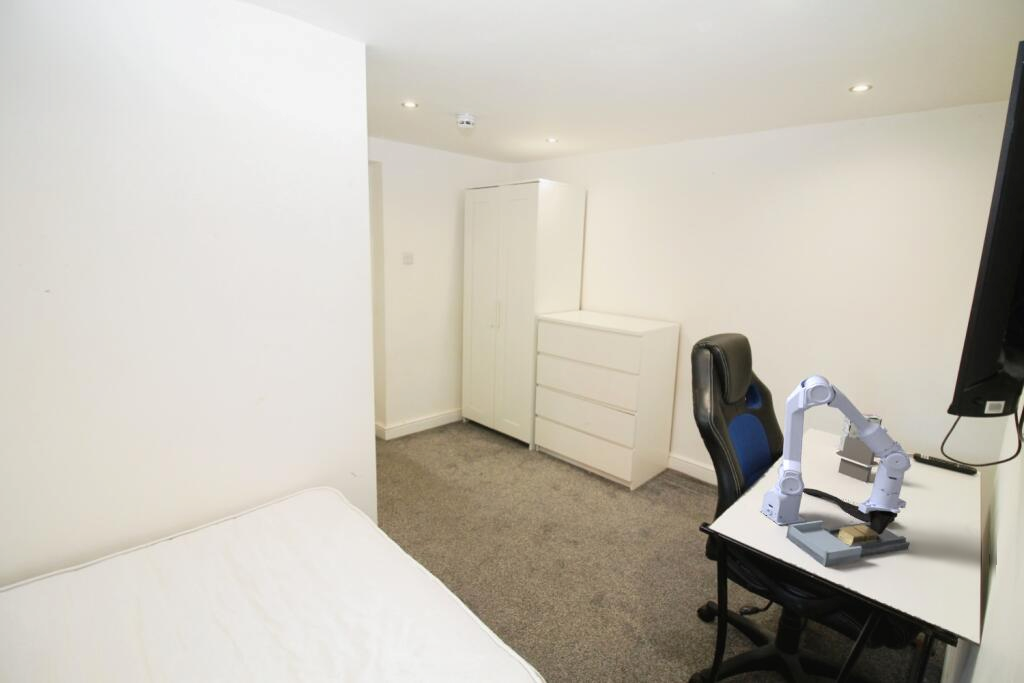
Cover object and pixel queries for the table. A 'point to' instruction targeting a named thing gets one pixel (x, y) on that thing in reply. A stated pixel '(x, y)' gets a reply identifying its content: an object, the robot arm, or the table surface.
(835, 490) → the table surface
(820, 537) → the tray
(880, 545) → the slotted bar
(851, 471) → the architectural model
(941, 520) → the table surface
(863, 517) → the hairbrush
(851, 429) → the candy bar box
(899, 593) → the table surface
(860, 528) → the cream square block
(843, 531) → the brass chip
